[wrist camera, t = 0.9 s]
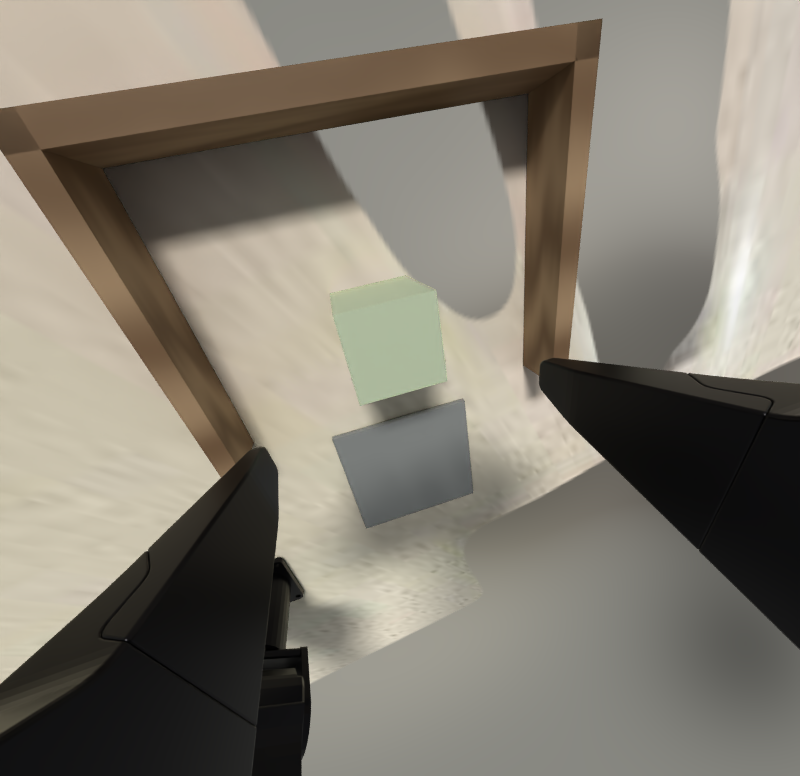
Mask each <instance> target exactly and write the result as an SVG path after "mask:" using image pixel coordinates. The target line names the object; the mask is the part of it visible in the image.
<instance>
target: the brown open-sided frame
mask: <svg viewBox="0 0 800 776" xmlns="http://www.w3.org/2000/svg"><path fill="white" fill-rule="evenodd" d="M601 29H602V19H597V20H590V21H583V22H577V23H570V24H564V25H557V26H550V27H543V28H537V29H530V30H523V31H516V32H510V33H503V34H496V35H490V36H483V37H476V38H470V39H463V40H456V41H450V42H444V43H436V44H430V45H423V46H416V47H409V48H403V49H396V50H390V51H383V52H376V53H369V54H363V55H356V56H350V57H343V58H336V59H329V60H323V61H316V62H309V63H302V64H296V65H289V66H282V67H276V68H269V69H262V70H256V71H249V72H242V73H236V74H229V75H222V76H215V77H209V78H202V79H195V80H189V81H182V82H175V83H169V84H162V85H155V86H149V87H142V88H135V89H128V90H122V91H115V92H108V93H102V94H95V95H88V96H82V97H75V98H68V99H62V100H55V101H48V102H42V103H35V104H28V105H21V106H15V107H8V108H1V109H0V150H1V151H2V153H3V154H4V156H5V157H6V159H7V160H8V161H9V163H10V164H11V166H12V167H13V169H14V170H15V172H16V173H17V175H18V176H19V178H20V179H21V181H22V182H23V184H24V185H25V187H26V188H27V190H28V191H29V193H30V194H31V196H32V197H33V199H34V200H35V202H36V203H37V205H38V206H39V208H40V209H41V211H42V212H43V213H44V215H45V216H46V218H47V219H48V221H49V222H50V224H51V225H52V227H53V228H54V230H55V231H56V233H57V234H58V236H59V237H60V239H61V240H62V242H63V243H64V245H65V246H66V248H67V249H68V251H69V252H70V254H71V255H72V257H73V258H74V260H75V261H76V263H77V264H78V265H79V267H80V268H81V270H82V271H83V273H84V274H85V276H86V277H87V279H88V280H89V282H90V283H91V285H92V286H93V288H94V289H95V291H96V292H97V294H98V295H99V297H100V298H101V300H102V301H103V303H104V304H105V306H106V307H107V309H108V310H109V312H110V313H111V315H112V316H113V318H114V319H115V320H116V322H117V323H118V325H119V326H120V328H121V329H122V331H123V332H124V334H125V335H126V337H127V338H128V340H129V341H130V343H131V344H132V346H133V347H134V349H135V350H136V352H137V353H138V355H139V356H140V358H141V359H142V361H143V362H144V364H145V365H146V367H147V368H148V370H149V371H150V372H151V374H152V375H153V377H154V378H155V380H156V381H157V383H158V384H159V386H160V387H161V389H162V390H163V392H164V393H165V395H166V396H167V398H168V399H169V401H170V402H171V404H172V405H173V407H174V408H175V410H176V411H177V413H178V414H179V416H180V417H181V419H182V420H183V422H184V423H185V424H186V426H187V427H188V429H189V430H190V432H191V433H192V435H193V436H194V438H195V439H196V441H197V442H198V444H199V445H200V447H201V448H202V450H203V451H204V453H205V454H206V456H207V457H208V459H209V460H210V462H211V463H212V465H213V466H214V468H215V469H216V471H217V472H218V474H219V475H220V477H222V476H223V475H224V474H226V473H227V472H228V471H229V470H230V469H231V468H232V467H233V466H234V465H235V464H236V463H237V462H238V461H239V460H240V459H241V458H242V457H243V456H244V455H245V454H246V453H247V452H248V451H250V450H251V449H252V446H253V443H254V442H253V440H252V439H251V437H250V435H249V433H248V431H247V429H246V428H245V426H244V424H243V422H242V420H241V419H240V417H239V415H238V413H237V411H236V410H235V408H234V406H233V404H232V402H231V401H230V399H229V397H228V395H227V393H226V392H225V390H224V388H223V386H222V384H221V383H220V381H219V379H218V377H217V375H216V373H215V372H214V370H213V368H212V366H211V364H210V363H209V361H208V359H207V357H206V355H205V354H204V352H203V350H202V348H201V346H200V345H199V343H198V341H197V339H196V337H195V336H194V334H193V332H192V330H191V328H190V326H189V325H188V323H187V321H186V319H185V317H184V316H183V314H182V312H181V310H180V308H179V307H178V305H177V303H176V301H175V299H174V298H173V296H172V294H171V292H170V290H169V289H168V287H167V285H166V283H165V281H164V279H163V278H162V276H161V274H160V272H159V270H158V269H157V267H156V265H155V263H154V261H153V260H152V258H151V256H150V254H149V252H148V251H147V249H146V247H145V245H144V243H143V242H142V240H141V238H140V236H139V234H138V233H137V231H136V229H135V227H134V225H133V223H132V222H131V220H130V218H129V216H128V214H127V213H126V211H125V209H124V207H123V205H122V204H121V202H120V200H119V198H118V196H117V195H116V193H115V191H114V189H113V187H112V186H111V184H110V182H109V180H108V178H107V176H106V175H105V173H104V171H103V169H102V168H107V167H113V166H118V165H124V164H130V163H135V162H141V161H147V160H152V159H158V158H164V157H170V156H175V155H181V154H187V153H192V152H198V151H204V150H209V149H215V148H221V147H226V146H232V145H238V144H244V143H249V142H255V141H261V140H266V139H272V138H278V137H283V136H289V135H295V134H300V133H306V132H312V131H317V130H323V129H329V128H335V127H340V126H346V125H352V124H357V123H363V122H369V121H374V120H379V119H386V118H391V117H397V116H402V115H408V114H414V113H420V112H425V111H431V110H437V109H443V108H448V107H454V106H460V105H465V104H471V103H476V102H483V101H488V100H494V99H500V98H505V97H511V96H517V95H522V94H528V136H527V189H526V243H525V297H524V350H523V365H524V366H525V367H527V368H528V369H530V370H531V371H533V372H534V373H536V374H538V375H539V370H540V363H541V362H542V361H544V360H547V359H550V358H562V359H568V358H569V348H570V338H571V328H572V318H573V308H574V298H575V288H576V278H577V268H578V258H579V247H580V238H581V228H582V218H583V208H584V198H585V188H586V178H587V167H588V158H589V147H590V138H591V128H592V117H593V108H594V97H595V89H596V77H597V68H598V59H599V48H600V39H601Z"/></svg>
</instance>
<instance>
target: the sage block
mask: <svg viewBox="0 0 800 776" xmlns="http://www.w3.org/2000/svg"><path fill="white" fill-rule="evenodd" d="M330 298H331V306H332V314H333V318H334V321H335V325H336V328H337V331H338V335H339V338H340V341H341V345H342V348H343V351H344V354H345V358H346V361H347V364H348V368H349V371H350V374H351V378H352V381H353V384H354V387H355V391H356V394H357V397H358V401H359V404H360V406H362V405H365V404H369V403H372V402H376V401H379V400H383V399H386V398H390V397H393V396H397V395H400V394H404V393H407V392H411V391H414V390H418V389H422V388H425V387H429V386H432V385H436V384H439V383H443V382H446V381H447V374H446V366H445V358H444V350H443V342H442V333H441V325H440V317H439V309H438V301H437V293H436V290H435V289H433V288H431V287H429V286H427V285H425V284H423V283H420V282H418V281H416V280H414V279H412V278H410V277H408V276H406V275H405V276H401V277H397V278H393V279H389V280H384V281H380V282H376V283H372V284H368V285H363V286H359V287H355V288H351V289H347V290H342V291H338V292H334V293H330Z"/></svg>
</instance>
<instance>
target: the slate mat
mask: <svg viewBox="0 0 800 776" xmlns="http://www.w3.org/2000/svg"><path fill="white" fill-rule="evenodd" d="M332 440H333V443H334V445H335V448H336V450H337V453H338V456H339V458H340V461H341V463H342V466H343V469H344V471H345V474H346V476H347V479H348V482H349V484H350V487H351V489H352V492H353V495H354V497H355V500H356V503H357V505H358V508H359V510H360V513H361V516H362V518H363V521H364V523H365V526H366V528H369V527H372V526H375V525H378V524H381V523H384V522H387V521H390V520H393V519H396V518H399V517H402V516H405V515H408V514H411V513H414V512H417V511H420V510H423V509H426V508H429V507H432V506H435V505H438V504H441V503H444V502H447V501H450V500H453V499H456V498H459V497H462V496H465V495H468V494H471V493H473V485H472V474H471V464H470V453H469V442H468V432H467V421H466V411H465V401H464V400H463V399H460V400H456V401H453V402H450V403H446V404H443V405H439V406H436V407H433V408H429V409H426V410H422V411H419V412H416V413H412V414H409V415H405V416H402V417H398V418H395V419H392V420H388V421H385V422H381V423H378V424H375V425H371V426H368V427H364V428H361V429H358V430H354V431H351V432H347V433H344V434H341V435H337V436H334V437H332Z"/></svg>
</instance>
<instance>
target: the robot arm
mask: <svg viewBox="0 0 800 776" xmlns="http://www.w3.org/2000/svg"><path fill="white" fill-rule="evenodd" d="M539 385H540V388H541V390H542V391H543V393H544V394H545V395H546V396H547V398H548V399H549V400H550V401H551V402H552V404H553V405H554V406H555V407H556V408H557V410H558V411H559V412H560V413H561V414H562V416H563V417H564V418H565V419H566V420H567V421H568V423H569V424H570V425H571V426H572V427H573V428H574V429H575V430H576V431H577V432H578V433H579V434H580V435H581V436H582V437H583V438H584V439H585V440H586V441H587V442H588V443H589V444H590V445H591V446H593V447H594V448H595V449H596V450H597V451H598V452H599V453H600V454H601V455H602V456H603V457H604V458H605V459H606V460H607V461H608V462H609V463H610V464H611V465H612V466H613V467H614V468H615V469H616V470H617V471H618V472H619V473H620V474H621V475H622V476H623V477H624V478H625V479H626V480H627V481H628V482H629V483H630V484H631V485H632V486H633V487H634V488H635V489H636V490H638V492H639V493H641V494H642V495H643V496H644V497H645V498H646V499H647V500H648V501H649V502H650V503H651V504H652V505H653V506H654V507H655V508H656V509H657V510H658V511H659V512H660V513H661V514H662V515H663V516H664V517H665V518H666V519H667V520H668V521H669V522H670V523H671V524H672V525H673V526H674V527H675V528H676V529H677V530H678V531H679V532H680V533H681V534H682V535H683V536H684V537H685V538H687V540H688V541H690V542H691V543H692V544H693V545H694V546H695V547H696V548H697V549H699V551H700V553H701V554H703V555H704V556H705V557H706V558H707V559H708V560H709V561H710V562H711V563H712V564H713V565H714V566H715V567H716V568H717V569H718V570H719V571H720V572H721V573H722V574H723V575H724V576H725V577H726V578H727V579H728V580H729V581H730V582H731V583H732V584H733V585H734V586H735V587H736V588H737V589H738V590H739V591H740V592H741V593H742V594H743V595H744V596H745V597H746V598H747V599H749V601H750V602H752V604H754V605H755V606H756V607H757V608H758V609H759V610H760V611H761V612H762V613H763V614H764V615H765V616H766V617H767V618H768V619H769V620H770V621H771V622H772V623H773V624H774V625H775V626H776V627H777V628H778V629H779V630H780V631H781V632H782V633H783V634H784V635H785V636H786V637H787V638H789V640H790V641H791V642H792V643H793V644H794V645H795V646H796V647H797V648H798V649H799V650H800V384H798V383H784V382H773V381H761V380H750V379H739V378H729V377H719V376H710V375H701V374H692V373H689V374H687V373H683V372H674V371H666V370H657V369H647V368H640V367H631V366H623V365H614V364H605V363H597V362H588V361H579V360H571V359H562V358H550V359H547V360H544V361H542V362H541V363H540V370H539ZM278 519H279V505H278V470H277V467H276V465H275V463H274V461H273V460H272V458H271V456H270V454H269V453H268V451H267V449H266V448H265V447H259V448H255V449H252V450H250V451H248V452H247V453H246V454H245V455H244V456H243V457H242V458H241V459H240V460H239V461H238V462H237V463H236V464H235V465H234V466H233V467H232V468H231V469H230V470H229V471H228V472H227V473H226V474H224V475H223V476H222V477H221V478H220V479H219V480H218V481H217V482H216V483H215V484H214V485H213V486H212V487H211V488H210V489H209V490H208V491H207V492H206V493H205V494H204V495H203V496H202V497H201V498H200V499H199V500H198V501H197V502H196V503H195V504H194V505H193V506H192V507H191V508H190V509H189V510H188V511H187V512H186V513H185V514H183V515H182V516H181V517H180V518H179V519H178V520H177V521H176V522H175V523H174V524H173V525H172V526H171V527H170V528H169V529H168V530H167V531H166V532H165V533H164V534H163V535H162V536H161V537H160V538H159V539H158V540H157V541H156V542H155V543H154V544H153V545H152V546H151V547H150V548H149V549H148V551H146V552H144V553H143V554H142V555H141V556H140V557H139V558H138V559H137V560H136V561H135V562H134V563H133V564H132V565H131V566H130V567H129V568H128V569H127V570H126V571H125V572H124V573H123V574H122V575H121V576H120V577H118V578H117V579H116V580H115V581H114V582H113V583H112V584H111V585H110V586H109V587H108V588H107V589H106V590H105V591H104V592H103V593H101V594H100V595H99V596H98V597H97V598H96V599H95V600H94V601H93V602H92V603H90V604H89V605H88V606H87V607H86V608H85V609H84V610H83V611H82V612H81V613H79V614H78V615H77V616H76V617H75V618H74V619H73V620H72V621H70V622H69V623H68V624H67V625H66V626H65V627H64V628H63V629H62V630H60V631H59V632H58V633H57V634H56V635H55V636H54V637H53V638H51V639H50V640H49V641H48V642H47V643H46V644H45V645H44V646H42V647H41V648H40V649H39V650H38V651H37V652H36V653H35V654H34V655H32V656H31V657H30V658H29V659H28V660H27V661H26V662H25V663H23V664H22V665H21V666H20V667H19V668H18V669H17V670H16V671H15V672H13V673H12V674H11V675H10V676H9V677H8V678H7V679H6V680H4V681H3V682H2V683H1V684H0V776H301V760H302V758H303V756H304V753H305V750H306V746H307V741H308V735H309V728H310V717H311V695H310V679H309V664H308V649H307V647H300V648H296V649H286V640H287V629H288V618H289V606H290V602H292V601H295V600H297V599H300V598H302V597H303V593H304V591H303V589H302V588H301V586H300V585H299V583H298V582H297V580H296V578H295V577H294V575H293V574H292V572H291V571H290V569H289V568H288V566H287V565H286V563H285V562H284V560H283V559H281V558H276V559H275V549H276V540H277V531H278Z"/></svg>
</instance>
